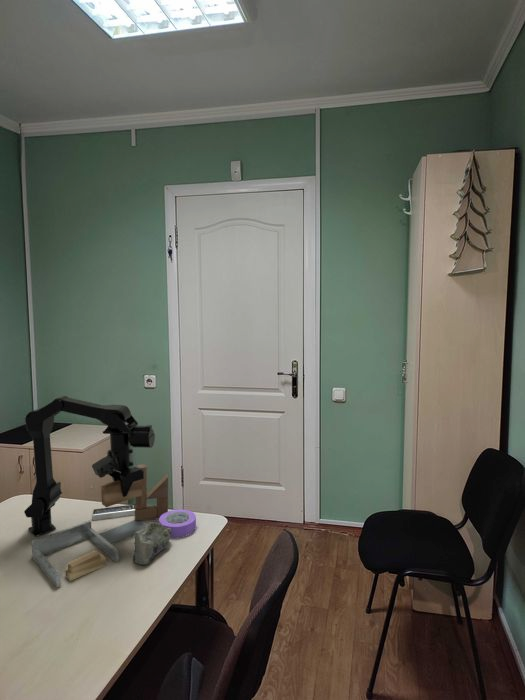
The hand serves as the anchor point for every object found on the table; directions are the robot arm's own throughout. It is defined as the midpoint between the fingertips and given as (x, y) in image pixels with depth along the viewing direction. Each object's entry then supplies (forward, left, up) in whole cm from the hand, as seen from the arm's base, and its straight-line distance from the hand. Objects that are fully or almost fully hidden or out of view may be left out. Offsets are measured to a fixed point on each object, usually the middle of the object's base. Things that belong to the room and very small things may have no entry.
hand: (122, 494), depth 140 cm
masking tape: (+10, +14, -13) cm, 21 cm away
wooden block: (-2, +11, -12) cm, 17 cm away
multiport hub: (-13, +4, -13) cm, 19 cm away
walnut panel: (0, 0, -2) cm, 2 cm away
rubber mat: (0, 0, -12) cm, 12 cm away
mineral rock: (+17, +1, -13) cm, 22 cm away
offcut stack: (+12, -17, -12) cm, 24 cm away
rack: (+4, -17, -12) cm, 21 cm away
